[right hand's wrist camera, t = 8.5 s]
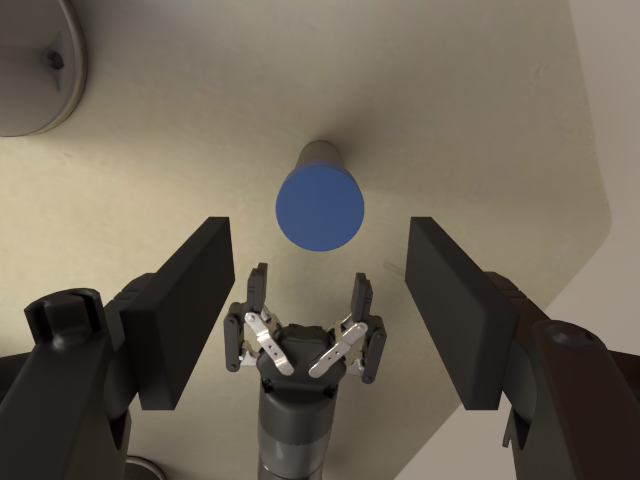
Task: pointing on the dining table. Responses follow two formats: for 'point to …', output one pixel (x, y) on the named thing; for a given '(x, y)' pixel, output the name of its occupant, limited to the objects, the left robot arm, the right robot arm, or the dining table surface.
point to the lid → (319, 206)
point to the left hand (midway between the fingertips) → (311, 271)
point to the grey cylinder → (319, 153)
